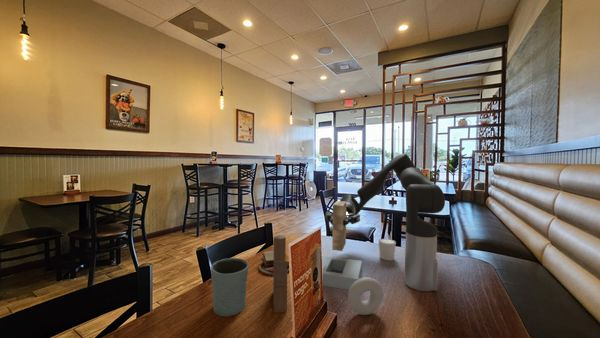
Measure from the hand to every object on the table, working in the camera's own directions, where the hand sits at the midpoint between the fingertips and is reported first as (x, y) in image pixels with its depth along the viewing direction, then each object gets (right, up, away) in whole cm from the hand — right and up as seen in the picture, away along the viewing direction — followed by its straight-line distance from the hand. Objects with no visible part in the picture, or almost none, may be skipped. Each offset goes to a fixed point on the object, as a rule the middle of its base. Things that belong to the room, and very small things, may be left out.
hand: (338, 222), depth 89 cm
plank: (+1, -9, +3) cm, 10 cm away
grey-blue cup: (-33, -20, -19) cm, 43 cm away
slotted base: (-1, -19, -1) cm, 19 cm away
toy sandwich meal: (-23, -19, +6) cm, 31 cm away
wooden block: (-19, -20, -16) cm, 32 cm away
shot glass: (+23, -18, +17) cm, 34 cm away
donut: (+4, -20, -21) cm, 30 cm away
